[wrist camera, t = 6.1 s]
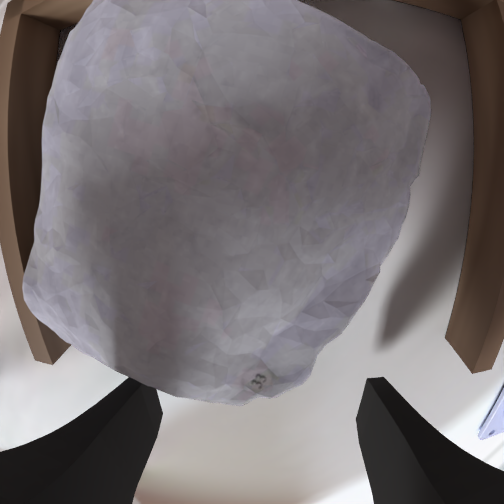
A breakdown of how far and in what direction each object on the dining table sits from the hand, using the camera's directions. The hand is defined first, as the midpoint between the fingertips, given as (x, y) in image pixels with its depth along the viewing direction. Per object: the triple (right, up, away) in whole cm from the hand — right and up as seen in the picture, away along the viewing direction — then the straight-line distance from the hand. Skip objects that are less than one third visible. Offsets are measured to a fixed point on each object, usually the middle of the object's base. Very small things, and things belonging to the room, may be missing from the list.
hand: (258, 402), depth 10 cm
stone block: (-1, +7, 0) cm, 7 cm away
